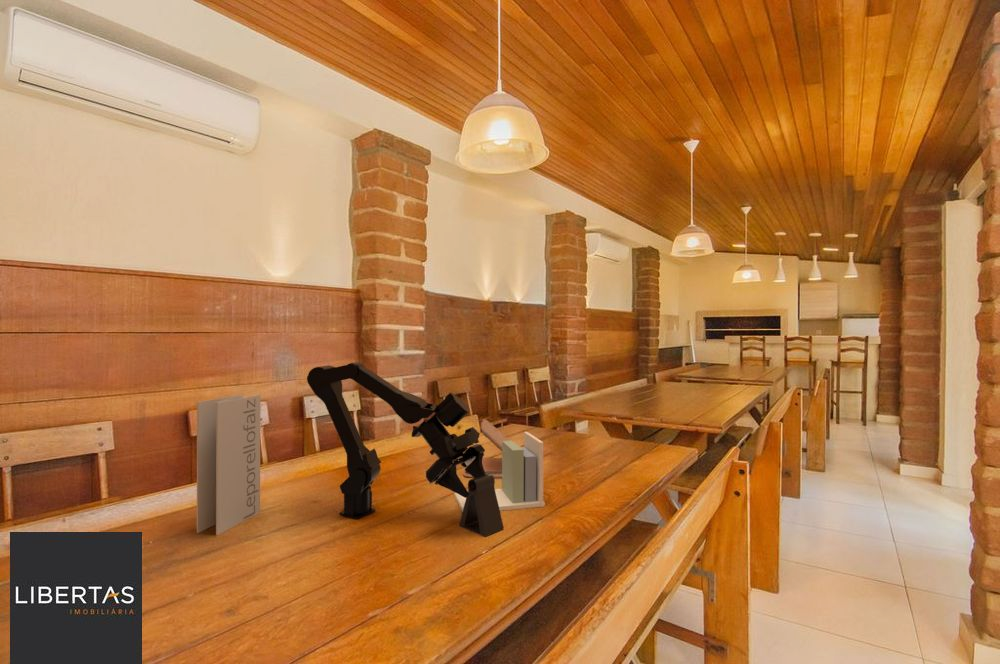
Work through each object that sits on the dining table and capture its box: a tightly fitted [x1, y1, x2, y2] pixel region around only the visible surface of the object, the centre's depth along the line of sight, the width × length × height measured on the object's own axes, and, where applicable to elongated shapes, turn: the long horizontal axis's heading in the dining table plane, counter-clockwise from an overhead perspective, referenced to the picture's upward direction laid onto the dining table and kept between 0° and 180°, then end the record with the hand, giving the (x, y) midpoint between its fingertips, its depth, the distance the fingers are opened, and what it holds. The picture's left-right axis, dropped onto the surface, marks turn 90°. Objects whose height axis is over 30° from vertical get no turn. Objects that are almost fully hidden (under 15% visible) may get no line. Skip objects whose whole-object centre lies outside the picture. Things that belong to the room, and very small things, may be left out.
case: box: [462, 418, 511, 479], centre depth 163 cm, size 20×21×16 cm
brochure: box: [196, 393, 261, 536], centre depth 117 cm, size 14×6×30 cm, turn 168°
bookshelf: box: [453, 431, 546, 512], centre depth 133 cm, size 22×14×17 cm, turn 105°
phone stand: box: [458, 474, 505, 538], centre depth 115 cm, size 9×6×12 cm, turn 46°
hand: (477, 490), depth 115 cm, fingers open, 9 cm apart
